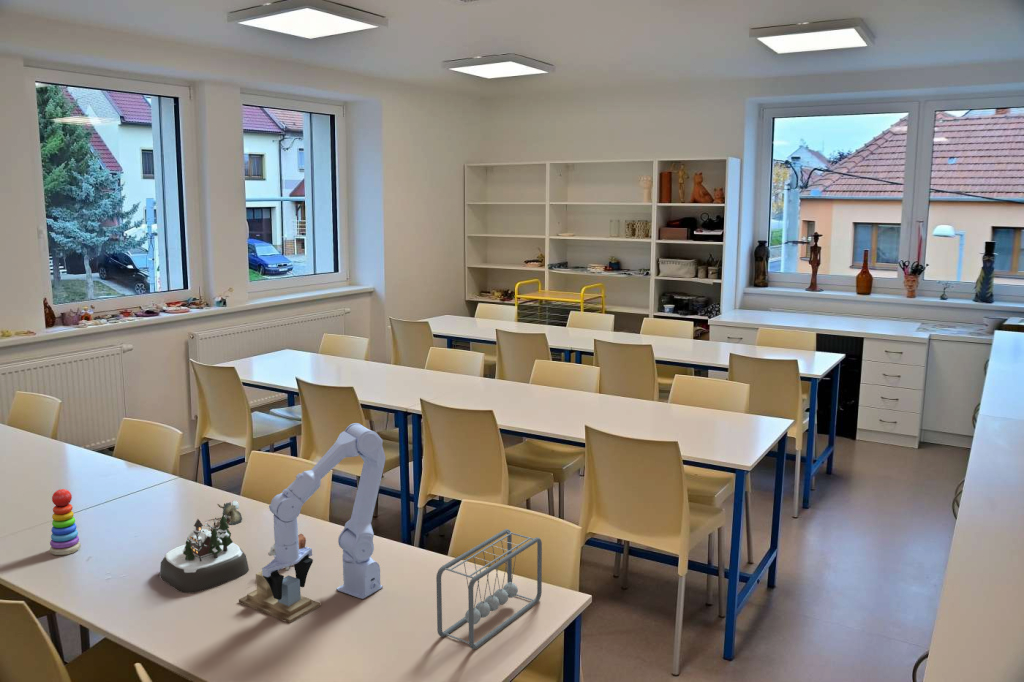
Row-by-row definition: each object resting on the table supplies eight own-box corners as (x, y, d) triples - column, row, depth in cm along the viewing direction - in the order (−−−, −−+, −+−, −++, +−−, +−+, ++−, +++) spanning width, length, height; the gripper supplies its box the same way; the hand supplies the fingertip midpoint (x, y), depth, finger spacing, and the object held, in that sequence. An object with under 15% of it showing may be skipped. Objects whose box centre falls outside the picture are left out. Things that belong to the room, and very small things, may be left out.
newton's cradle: (509, 589, 215) (508, 526, 212) (542, 600, 209) (542, 535, 206) (436, 639, 191) (435, 569, 188) (472, 653, 185) (471, 580, 182)
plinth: (320, 605, 206) (320, 598, 206) (290, 623, 198) (289, 615, 198) (269, 586, 217) (269, 579, 216) (238, 602, 208) (238, 595, 208)
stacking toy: (67, 557, 234) (61, 495, 231) (43, 555, 236) (37, 494, 233) (87, 546, 242) (81, 486, 239) (63, 543, 244) (57, 484, 240)
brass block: (279, 591, 210) (278, 571, 209) (267, 598, 206) (266, 577, 205) (269, 587, 212) (268, 568, 211) (256, 593, 209) (255, 574, 208)
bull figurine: (266, 573, 225) (265, 545, 223) (300, 554, 236) (298, 527, 235) (278, 576, 223) (276, 548, 221) (311, 557, 234) (310, 530, 233)
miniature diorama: (221, 550, 239) (217, 495, 236) (256, 571, 226) (252, 514, 223) (153, 573, 225) (148, 515, 222) (186, 597, 211) (181, 536, 208)
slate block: (300, 599, 206) (299, 579, 205) (288, 606, 202) (287, 585, 201) (289, 595, 208) (288, 575, 207) (277, 601, 204) (276, 581, 203)
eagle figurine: (211, 515, 262) (217, 519, 254) (221, 494, 264) (228, 498, 256) (232, 524, 266) (239, 528, 258) (243, 503, 267) (250, 507, 260)
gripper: (297, 528, 210) (300, 576, 213) (252, 548, 198) (255, 599, 201) (316, 534, 206) (319, 583, 209) (272, 555, 194) (275, 607, 197)
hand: (289, 592), depth 204 cm, fingers open, 7 cm apart
